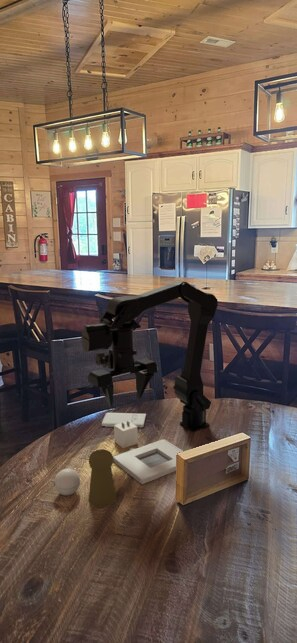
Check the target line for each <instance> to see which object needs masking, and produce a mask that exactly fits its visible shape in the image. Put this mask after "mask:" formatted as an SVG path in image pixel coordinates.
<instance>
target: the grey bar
mask: <svg viewBox="0 0 297 643" xmlns="http://www.w3.org/2000/svg"><path fill="white" fill-rule="evenodd" d="M134 449H135V448H134V447H131V448H129V449H128V450H127V451H124V452H121V453H118V454H115V455H112V456H113V457H114V456H117V455H119V454H122V453H125V452H128V451H131V450H134Z"/></svg>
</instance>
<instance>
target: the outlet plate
mask: <svg viewBox="0 0 297 643" xmlns="http://www.w3.org/2000/svg"><path fill="white" fill-rule="evenodd" d="M127 451H128V452H126V451H124V452H125V453H123V452H121V453H122V454H120V453H118V454H119V455H117V454H116V455H117V456H114V455H113V456H114V457H113V463H115V464H116V465H117V466H118V467H120V468H121V469H123V471H125V472H126V473H127V474H128V475H129V476H131V477H132V478H133V479H135V481H137V482H138V483H139V484H140V485H143V484H146V483H149V482H151V481H152V482H153V481H154V480H156V479H159V478H161V477H164V476H166V475H168V474H171V473H173V472H176V471H177V470H176V455H177V453H179V452H183V451H184V450H182V449H180V448H179V447H177V446H176V445H174V444H173V443H171V442H169V441H168V440H167V439H164V438H162V439H160V440H157V441H154V442H151V443H149V444H146V445H143V446H139V447H137V448H134V450H131V451H129V450H127Z"/></svg>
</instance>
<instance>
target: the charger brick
mask: <svg viewBox="0 0 297 643" xmlns="http://www.w3.org/2000/svg"><path fill="white" fill-rule="evenodd" d="M113 434H114V436H113V438H114V442H115V443H116V444H117V445H118V446H120V447H121V448H122V449H125V448H128V447H131V446H134V445H138V444H139V440H138V439H139V438H138V437H139V436H138V427H137V426H136V425H134V424H133V423H131V422H129V421H126V422H122V423H119V424H116V425H114V427H113Z"/></svg>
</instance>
